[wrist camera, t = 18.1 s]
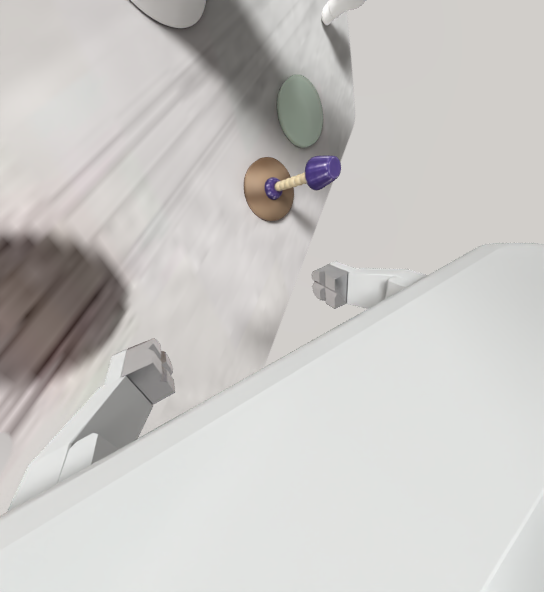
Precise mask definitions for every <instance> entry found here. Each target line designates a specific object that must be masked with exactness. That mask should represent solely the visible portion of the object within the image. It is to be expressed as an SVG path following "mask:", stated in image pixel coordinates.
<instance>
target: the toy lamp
mask: <svg viewBox="0 0 544 592" xmlns="http://www.w3.org/2000/svg"><path fill="white" fill-rule="evenodd" d="M340 171H341V163H340V161H339V159H338V158H337V157H335V156H315V157H312V158H311V159H310V160H309V161H308V162H307V164H306V167H305V172H304V173H302V174H299V175H297V176H293V177H291V178H287V179H286V180H282V181H280V180H279V179H277V178H275V177H271V178H269V179H267V181H266V182H265V193H266V195H267V196H268V198H270V199H272V200H276V199H278V198H279V197H280V196H281V194H282V191H283V190H286V189H287V188H288V189H289V188H292V187H296V186H298V185H302V184H306V183H307V184H308V186H309V187H310V188H311V189H313V190H320V189H322V188H323V187H325V186H326V185H328V184H330V183H331V182H333V181H334V180H335V179H337V178H338V176H339V174H340Z"/></svg>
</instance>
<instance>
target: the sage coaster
mask: <svg viewBox="0 0 544 592" xmlns="http://www.w3.org/2000/svg"><path fill="white" fill-rule="evenodd" d="M277 111H278V117H279V121H280V125H281V127H282V130H283V132H284V133H285V135H286V137H287V138H288V139H289V141H290V142H291V143H293V144H294V145H295V146H297V147H300V148H306V147H309V146H310V145H312V144H314V143H315V142H316V141H317V140H318V138H319V136H320V134H321V131H322V126H323V111H322V105H321V101H320V98H319V95H318V93H317V91H316V89H315V87H314V86H313V84H312V83H311V82H310V81H309V80H308V79H307V78H305V77H304V76H302V75H292V76H290V77H289V78H288V79H287V80H286V81H285V82H284V83H283V85H282V86H281V88H280V91H279V94H278V99H277Z"/></svg>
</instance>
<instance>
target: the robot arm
mask: <svg viewBox="0 0 544 592" xmlns="http://www.w3.org/2000/svg"><path fill="white" fill-rule="evenodd" d="M131 1H132V2H133V3H134V4H135V5H136V6H137V7H138V8H139V9H141V10H142V11H143V12H144V13H146V14H147V15H149V16H150V17H151V18H153V19H155V20H156V21H158V22H160V23H162V24H165V25H167V26H170V27H175V28H186V27H190V26H192V25H194V24H195V23H196V22H197V21H198V20H199V19H200V17H201V16H202V14H203V11H204V8H205V3H206V0H131ZM312 279H313V280H314V284H313V292H314V294H315V296H316V297H317V298H318V299H320V300H324V301H326V304H327V305H329V306H331V307H332V308H334V309H336V308H338V307H340V306H342V305H344V304H346V303H347V304H350V305H354V306H358V307H363V308H367V310H366V311H364V312H362V313H360V314H358V315H357V316H355V317H353V318H351V319H349V320H348V321H346V322H344V323H342V324H340V325H339V326H337V327H335V328H333V329H332V330H330V331H328V332H326V333H325V334H323V335H321V336H319V337H317V338H316V339H314V340H312V341H310V342H308V343H307V344H305V345H303V346H301V347H300V348H298V349H296V350H294V351H293V352H291V353H289V354H287V355H286V356H284V357H282V358H280V359H278V360H277V361H275V362H273V363H271V364H269V365H268V366H266V367H264V368H262V369H261V370H259V371H257V372H255V373H253V374H252V375H250V376H248V377H246V378H245V379H243V380H241V381H239V382H237V383H236V384H234V385H232V386H230V387H229V388H227V389H225V390H223V391H221V392H220V393H218V394H216V395H214V396H213V397H211V398H209V399H207V400H205V401H204V402H202V403H200V404H198V405H197V406H195V407H193V408H191V409H189V410H188V411H186V412H184V413H182V414H181V415H179V416H177V417H175V418H173V419H172V420H170V421H168V422H166V423H165V424H163V425H161V426H159V427H157V428H156V429H154V430H152V431H150V432H149V433H147V434H145V435H143V436H141V437H140V438H138V437H139V435H140V432H141V430H142V428H143V426H144V424H145V422H146V420H147V418H148V416H149V414H150V412H151V409H152V407H153V404H155V403H157V402H159V401H161V400H162V399H164V398H166V397H168V396H170V395H171V394H173V393H175V386H174V379H173V378H172V376H171V375H172V373H173V368H172V364H171V361H170V359H169V357H168V355H167V354H166V352H163V351H161V345H160V343H159V342H158V341H157V339H155V338H153V339H151V340H148V341H146V342H143V343H141V344H138V345H136V346H133V347H131V348H128V349H126V350H123V351H121V352H119V353H116V354H114V355H113V356H112V357H111V361H110V365H109V369H108V372H107V376H106V380H105V384H104V386H102V387H100V388H99V389H98V390H97V391H96V392H95V393H94V394H93V395H92V396H91V397H90V398H89V400H88V401H87V402H86V403H85V404H84V405H83V406H82V407H81V408H80V409H79V411H78V412H77V413H76V414H75V415H74V416H73V417H72V418H71V419H70V420H69V421H68V423H67V424H66V425H65V426H64V427H63V428H62V429H61V430H60V431H59V432H58V434H57V435H56V436H55V437H54V438H53V439H52V440H51V441H50V442H49V443H48V444H47V446H46V447H45V448H44V449H43V450H42V451H41V452H40V453H39V454H38V455H37V457H36V458H35V459H34V460H33V461H32V462H31V463H30V464H29V466H28V468H27V470H26V472H25V474H24V476H23V479H22V481H21V483H20V485H19V487H18V489H17V491H16V494H15V496H14V498H13V500H12V502H11V504H10V507H9V509H8V511H7V512H6V513H5V514H3V515H1V516H0V592H544V244H536V243H495V244H485V245H482V246H479V247H477V248H475V249H474V250H472V251H470V252H468V253H466V254H465V255H463V256H461V257H459V258H458V259H456V260H454V261H452V262H451V263H449V264H447V265H445V266H443V267H442V268H440V269H438V270H436V271H435V272H433V273H431V274H429V275H425V274H422V273H418V272H415V271H412V270H409V269H378V268H377V269H376V268H359V269H356V268H354V267H351V266H348V265H345V264H343V263H340V262H332V263H330V264H328V265H326V266H324V267H322V268H319V269H317V270H315V271H313V272H312Z"/></svg>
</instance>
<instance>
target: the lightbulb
mask: <svg viewBox="0 0 544 592" xmlns="http://www.w3.org/2000/svg"><path fill="white" fill-rule="evenodd" d="M365 1H366V0H329V1H328V2H327V4H326V5H325V7H324V8H323V10H322V21H323V23H324V24H325V25H329V24H330V23H331V22H332V21H333V20H334V19H335V18H338V17H339V16H340V15H341V14H342V13H344V12H345V11H348V10H353V9H356V8H358V7H360V6H361V5H362V4H363V3H364V2H365Z"/></svg>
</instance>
